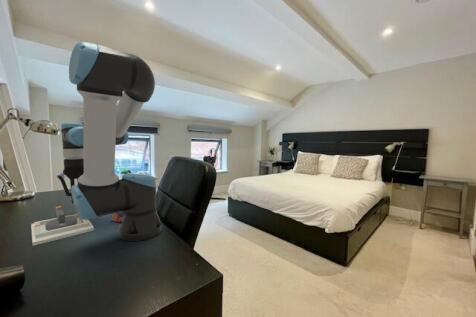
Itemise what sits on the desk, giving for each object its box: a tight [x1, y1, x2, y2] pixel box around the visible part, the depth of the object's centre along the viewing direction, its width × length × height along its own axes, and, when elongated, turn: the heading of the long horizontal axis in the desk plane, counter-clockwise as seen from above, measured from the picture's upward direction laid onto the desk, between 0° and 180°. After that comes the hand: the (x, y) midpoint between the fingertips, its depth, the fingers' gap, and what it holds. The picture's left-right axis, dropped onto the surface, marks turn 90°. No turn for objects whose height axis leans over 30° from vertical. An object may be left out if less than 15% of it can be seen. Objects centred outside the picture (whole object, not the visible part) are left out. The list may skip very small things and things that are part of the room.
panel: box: [30, 213, 95, 247], centre depth 88 cm, size 22×18×3 cm
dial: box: [45, 205, 77, 230], centre depth 90 cm, size 15×10×6 cm, turn 45°
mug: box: [110, 211, 124, 223], centre depth 99 cm, size 12×9×11 cm
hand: (77, 209), depth 98 cm, fingers closed
